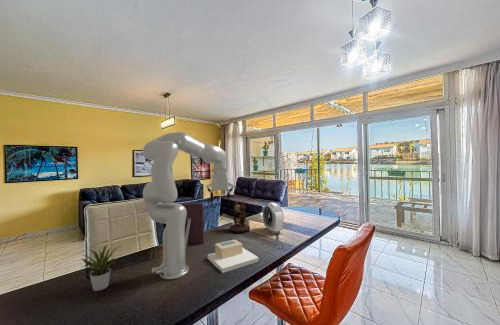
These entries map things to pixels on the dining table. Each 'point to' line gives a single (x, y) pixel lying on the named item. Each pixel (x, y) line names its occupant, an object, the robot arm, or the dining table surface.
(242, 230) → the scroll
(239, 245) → the carton
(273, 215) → the alarm clock
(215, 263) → the display podium
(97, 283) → the house plant
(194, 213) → the picture frame
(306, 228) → the dining table surface
